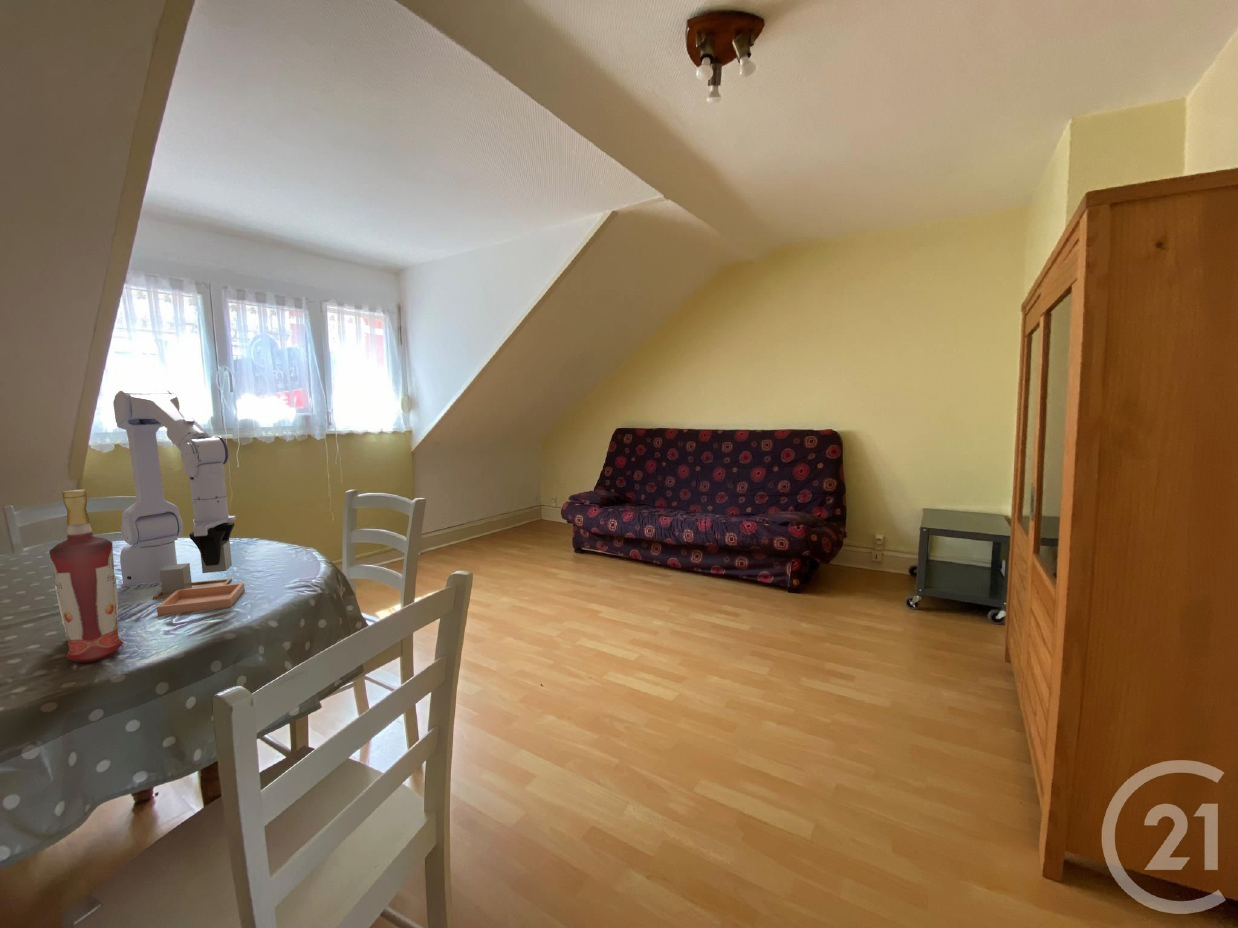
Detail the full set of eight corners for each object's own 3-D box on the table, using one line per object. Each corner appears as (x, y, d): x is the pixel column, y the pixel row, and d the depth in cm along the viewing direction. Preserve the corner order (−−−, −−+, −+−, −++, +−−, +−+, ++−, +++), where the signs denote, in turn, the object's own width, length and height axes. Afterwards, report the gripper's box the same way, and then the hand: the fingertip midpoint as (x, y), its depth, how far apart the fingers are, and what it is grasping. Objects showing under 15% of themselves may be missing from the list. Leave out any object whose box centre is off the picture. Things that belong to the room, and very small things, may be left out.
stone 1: (162, 595, 117) (159, 570, 116) (170, 589, 120) (167, 565, 120) (185, 592, 118) (182, 568, 117) (192, 586, 122) (189, 562, 121)
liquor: (125, 657, 91) (104, 491, 87) (63, 672, 86) (38, 497, 82) (125, 642, 96) (106, 485, 92) (67, 655, 91) (43, 490, 88)
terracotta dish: (158, 617, 106) (156, 607, 106) (178, 599, 116) (177, 589, 115) (231, 609, 111) (230, 598, 110) (244, 592, 120) (243, 582, 120)
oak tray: (152, 601, 115) (152, 597, 114) (168, 588, 122) (168, 584, 122) (221, 594, 119) (220, 589, 119) (232, 582, 126) (231, 578, 126)
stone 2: (202, 573, 111) (199, 546, 110) (209, 567, 114) (206, 541, 114) (226, 570, 112) (223, 544, 111) (231, 565, 116) (229, 539, 115)
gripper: (221, 502, 106) (228, 570, 108) (242, 489, 119) (248, 550, 121) (177, 505, 103) (184, 574, 105) (203, 491, 117) (210, 553, 119)
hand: (216, 561), depth 113 cm, fingers closed on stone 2, 4 cm apart
